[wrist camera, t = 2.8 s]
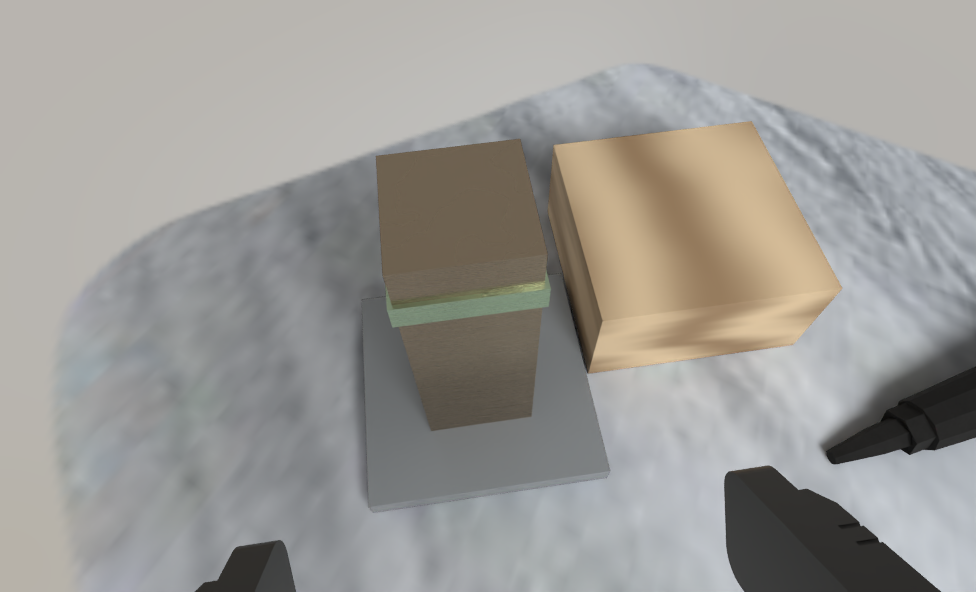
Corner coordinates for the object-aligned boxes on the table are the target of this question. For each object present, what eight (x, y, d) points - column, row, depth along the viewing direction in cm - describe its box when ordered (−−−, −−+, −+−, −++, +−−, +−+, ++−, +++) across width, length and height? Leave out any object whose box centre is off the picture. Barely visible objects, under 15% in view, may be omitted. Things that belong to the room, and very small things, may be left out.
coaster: (559, 284, 31) (561, 273, 30) (606, 477, 26) (610, 471, 25) (365, 309, 30) (361, 299, 30) (372, 512, 25) (368, 507, 24)
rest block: (721, 189, 34) (751, 121, 30) (792, 344, 29) (842, 288, 25) (547, 211, 34) (553, 145, 29) (588, 373, 28) (602, 320, 24)
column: (517, 326, 29) (524, 134, 18) (535, 419, 26) (554, 258, 16) (419, 339, 28) (370, 153, 18) (427, 434, 26) (377, 281, 16)
